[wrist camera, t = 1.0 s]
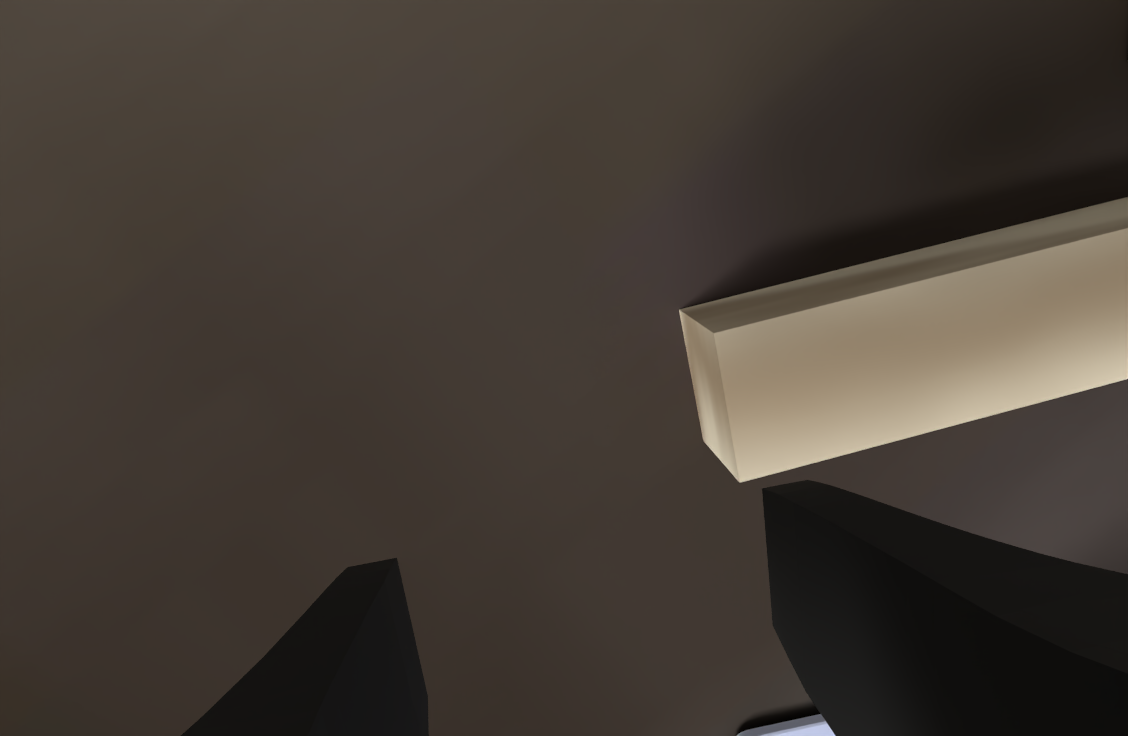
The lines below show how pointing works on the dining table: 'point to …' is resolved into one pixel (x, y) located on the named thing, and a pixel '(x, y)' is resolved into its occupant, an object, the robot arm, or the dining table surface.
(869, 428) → the slat
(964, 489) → the dining table surface
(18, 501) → the dining table surface
